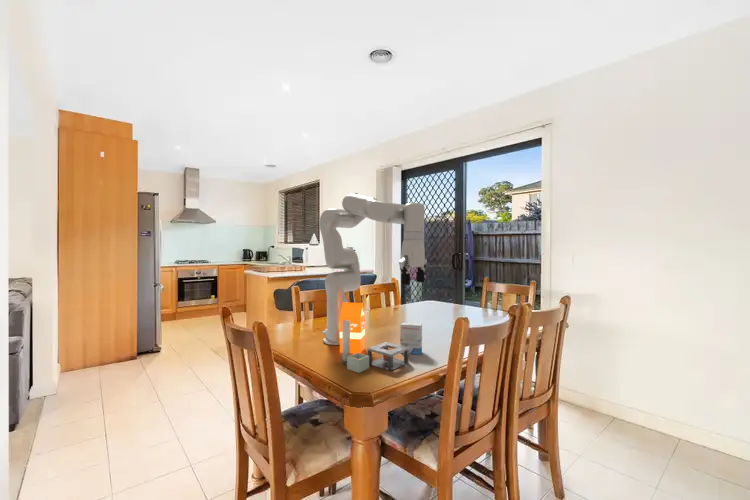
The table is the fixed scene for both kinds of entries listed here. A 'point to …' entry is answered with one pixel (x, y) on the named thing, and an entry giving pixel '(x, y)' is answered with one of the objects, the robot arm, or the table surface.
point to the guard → (391, 362)
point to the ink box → (411, 337)
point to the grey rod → (345, 341)
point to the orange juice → (354, 326)
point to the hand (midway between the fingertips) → (413, 283)
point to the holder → (358, 362)
